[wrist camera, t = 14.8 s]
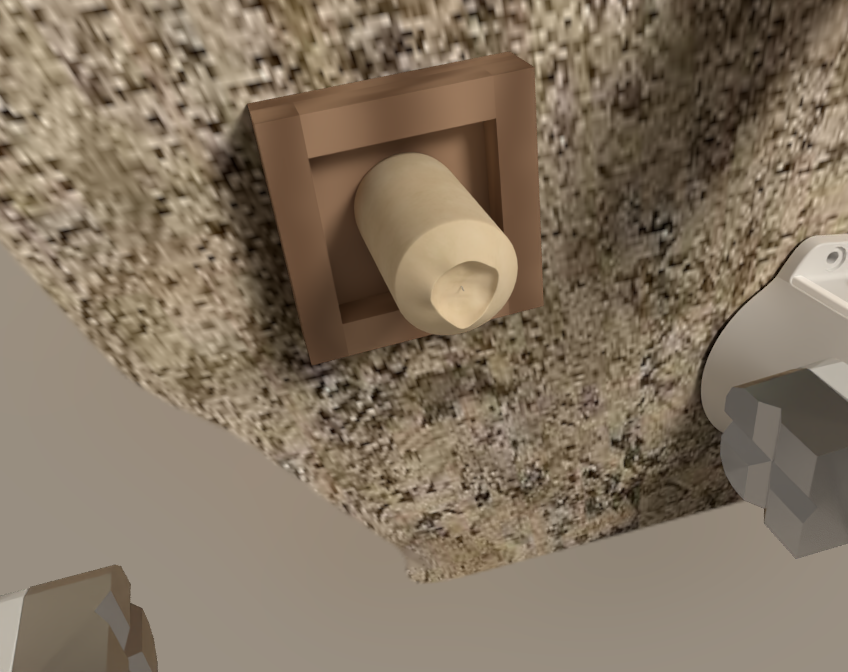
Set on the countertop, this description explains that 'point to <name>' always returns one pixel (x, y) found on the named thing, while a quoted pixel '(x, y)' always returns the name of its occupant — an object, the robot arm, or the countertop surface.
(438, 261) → the candle
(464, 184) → the brown shallow square tray
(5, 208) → the countertop surface
